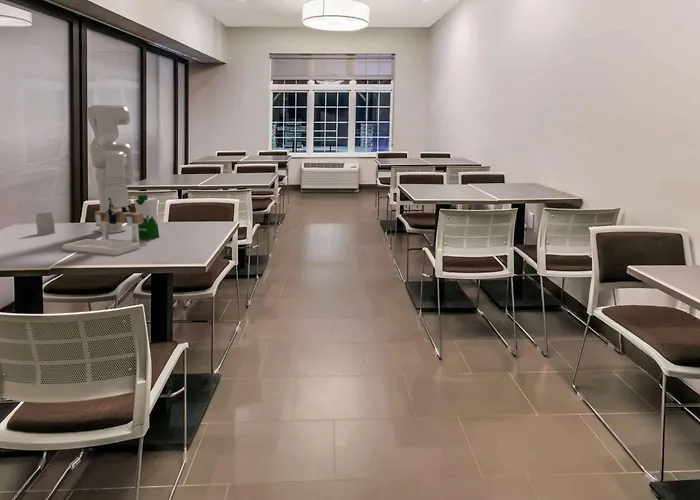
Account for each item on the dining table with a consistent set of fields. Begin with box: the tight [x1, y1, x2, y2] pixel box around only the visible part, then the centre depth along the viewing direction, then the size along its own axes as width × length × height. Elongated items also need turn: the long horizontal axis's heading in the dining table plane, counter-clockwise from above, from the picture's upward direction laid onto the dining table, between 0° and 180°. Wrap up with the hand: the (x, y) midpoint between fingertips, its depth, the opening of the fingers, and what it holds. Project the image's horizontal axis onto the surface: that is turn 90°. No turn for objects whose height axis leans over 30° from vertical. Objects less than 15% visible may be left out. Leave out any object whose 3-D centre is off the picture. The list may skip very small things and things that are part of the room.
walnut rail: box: [94, 210, 144, 224], centre depth 260 cm, size 22×4×4 cm, turn 72°
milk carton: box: [133, 194, 160, 240], centre depth 277 cm, size 9×9×20 cm
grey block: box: [35, 211, 56, 236], centre depth 287 cm, size 4×7×10 cm, turn 132°
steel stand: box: [95, 215, 148, 248], centre depth 261 cm, size 22×7×13 cm, turn 72°
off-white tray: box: [62, 238, 141, 256], centre depth 251 cm, size 28×14×2 cm, turn 72°
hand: (119, 221), depth 261 cm, fingers open, 7 cm apart
